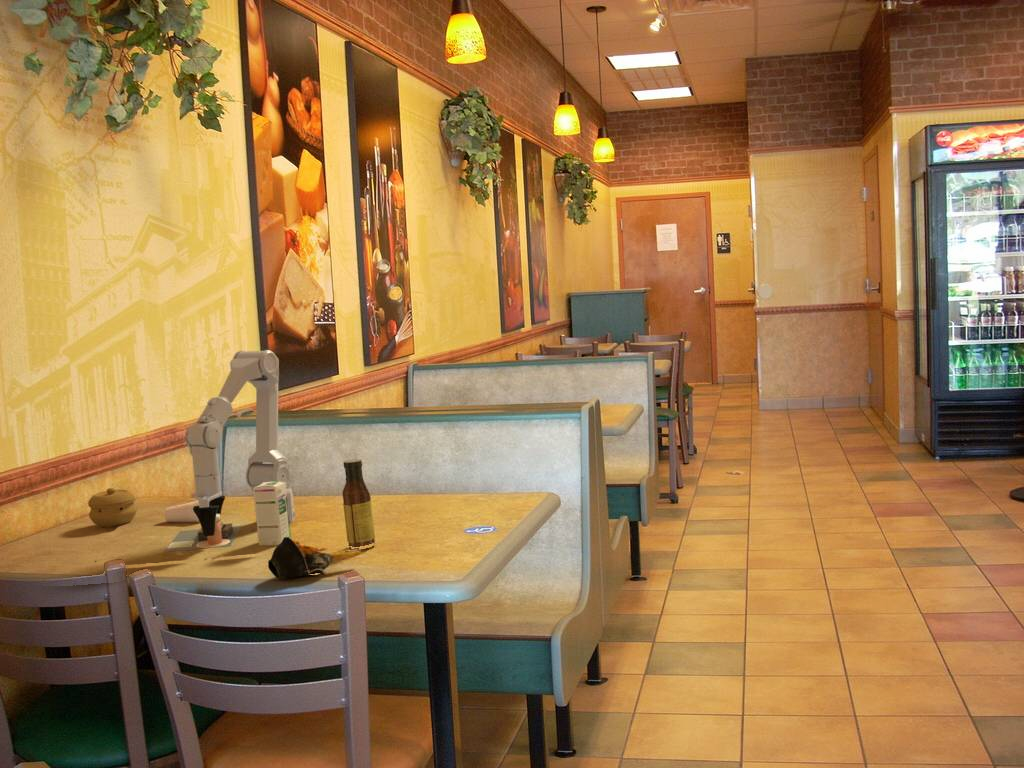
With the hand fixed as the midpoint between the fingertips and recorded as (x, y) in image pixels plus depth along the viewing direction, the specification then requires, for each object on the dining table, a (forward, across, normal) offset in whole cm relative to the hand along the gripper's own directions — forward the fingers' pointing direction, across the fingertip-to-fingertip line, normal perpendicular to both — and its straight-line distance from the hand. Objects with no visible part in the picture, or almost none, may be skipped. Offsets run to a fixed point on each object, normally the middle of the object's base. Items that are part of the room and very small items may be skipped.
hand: (212, 531), depth 248 cm
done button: (+2, -8, -1) cm, 8 cm away
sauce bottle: (+4, +12, +34) cm, 37 cm away
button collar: (+4, -8, 0) cm, 8 cm away
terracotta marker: (+3, 0, 0) cm, 3 cm away
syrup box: (+4, +4, +14) cm, 15 cm away
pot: (+4, -34, -30) cm, 45 cm away
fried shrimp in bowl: (+4, +32, +25) cm, 41 cm away
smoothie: (+1, -29, -16) cm, 33 cm away
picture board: (+4, -6, -3) cm, 8 cm away
